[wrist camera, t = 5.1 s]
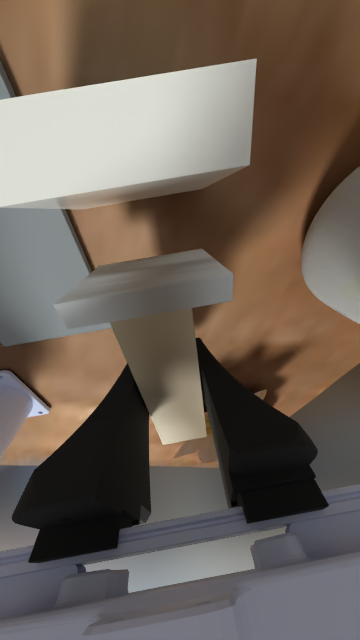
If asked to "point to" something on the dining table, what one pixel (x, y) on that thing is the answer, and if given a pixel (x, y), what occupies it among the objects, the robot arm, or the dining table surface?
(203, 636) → the robot arm
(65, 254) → the mat
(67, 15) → the dining table surface
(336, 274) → the teacup
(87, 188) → the tile
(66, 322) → the pusher
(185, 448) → the decorative flower
